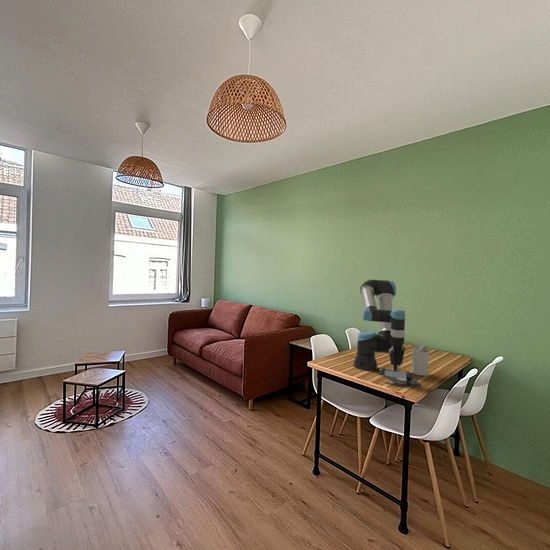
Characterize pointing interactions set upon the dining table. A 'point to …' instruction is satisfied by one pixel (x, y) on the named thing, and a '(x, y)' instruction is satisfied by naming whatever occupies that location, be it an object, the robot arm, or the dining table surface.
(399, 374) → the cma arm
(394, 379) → the plate
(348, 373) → the dining table surface
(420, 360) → the milk carton
